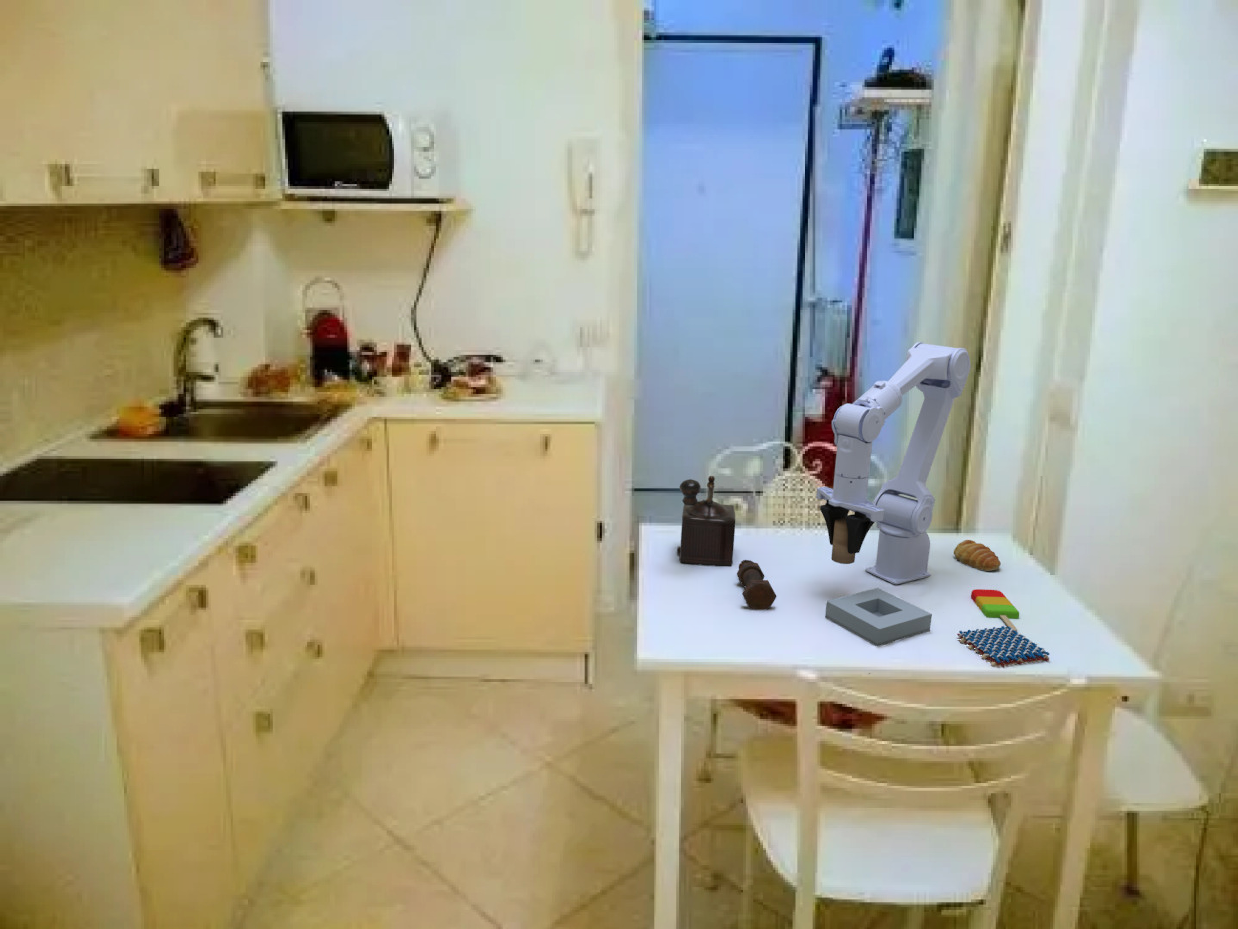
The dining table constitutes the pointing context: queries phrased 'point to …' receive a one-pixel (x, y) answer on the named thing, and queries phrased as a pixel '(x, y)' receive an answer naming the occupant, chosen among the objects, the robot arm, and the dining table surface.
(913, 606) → the socket block
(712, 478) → the manual coffee grinder
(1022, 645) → the woven mat
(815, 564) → the dining table surface
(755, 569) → the bolt
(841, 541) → the peg
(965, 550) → the pastry
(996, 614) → the popsicle
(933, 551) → the dining table surface
